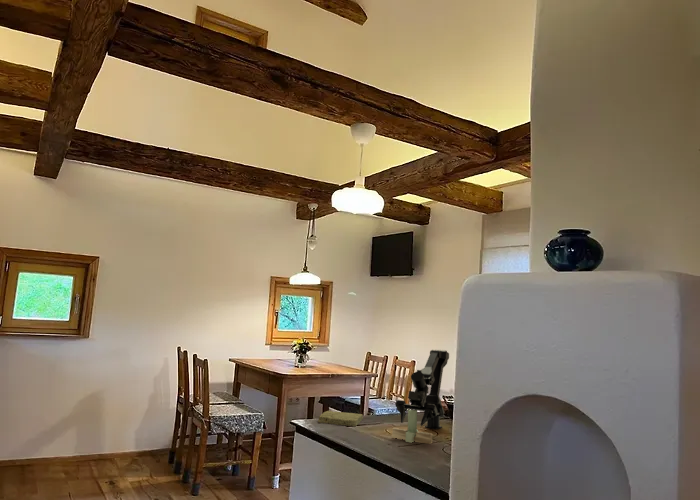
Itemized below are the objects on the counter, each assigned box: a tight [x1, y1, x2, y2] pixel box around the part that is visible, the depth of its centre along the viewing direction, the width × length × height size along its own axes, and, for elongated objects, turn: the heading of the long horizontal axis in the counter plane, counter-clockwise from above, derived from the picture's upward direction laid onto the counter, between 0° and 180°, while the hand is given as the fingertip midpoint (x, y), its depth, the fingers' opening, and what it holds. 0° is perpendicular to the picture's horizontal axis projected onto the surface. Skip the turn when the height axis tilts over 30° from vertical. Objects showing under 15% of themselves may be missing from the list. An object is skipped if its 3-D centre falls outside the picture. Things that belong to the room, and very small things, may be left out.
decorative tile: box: [317, 410, 364, 427], centre depth 271 cm, size 19×20×4 cm
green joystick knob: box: [405, 409, 419, 443], centre depth 238 cm, size 8×4×13 cm, turn 153°
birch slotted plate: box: [391, 427, 433, 445], centre depth 237 cm, size 2×18×4 cm, turn 64°
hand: (411, 423), depth 237 cm, fingers open, 9 cm apart
